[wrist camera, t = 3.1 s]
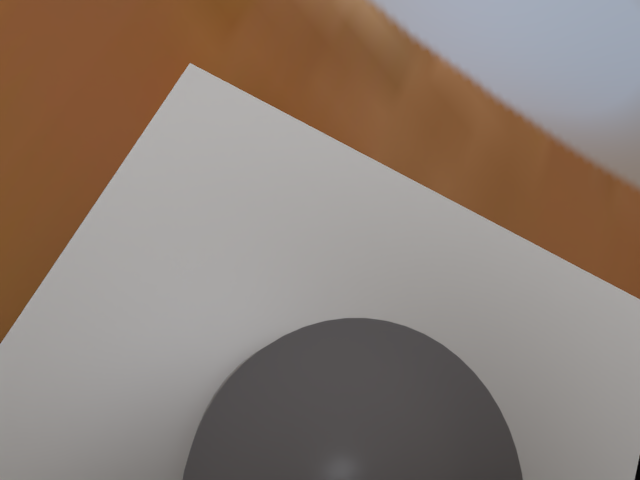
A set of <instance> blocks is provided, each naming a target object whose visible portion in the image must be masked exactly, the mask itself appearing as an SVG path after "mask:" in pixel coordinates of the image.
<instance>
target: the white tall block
mask: <svg viewBox="0 0 640 480" xmlns="http://www.w3.org/2000/svg"><path fill="white" fill-rule="evenodd" d="M639 456H640V299H638V298H636V297H634V296H632V295H630V294H628V293H626V292H624V291H623V290H621V289H619V288H617V287H615V286H613V285H611V284H609V283H607V282H605V281H604V280H602V279H600V278H598V277H596V276H594V275H592V274H590V273H588V272H586V271H585V270H583V269H581V268H579V267H577V266H575V265H573V264H571V263H569V262H567V261H565V260H564V259H562V258H560V257H558V256H556V255H554V254H552V253H550V252H548V251H546V250H545V249H543V248H541V247H539V246H537V245H535V244H533V243H531V242H529V241H527V240H526V239H524V238H522V237H520V236H518V235H516V234H514V233H512V232H510V231H508V230H507V229H505V228H503V227H501V226H499V225H497V224H495V223H493V222H491V221H489V220H488V219H486V218H484V217H482V216H480V215H478V214H476V213H474V212H472V211H470V210H468V209H467V208H465V207H463V206H461V205H459V204H457V203H455V202H453V201H451V200H449V199H448V198H446V197H444V196H442V195H440V194H438V193H436V192H434V191H432V190H430V189H429V188H427V187H425V186H423V185H421V184H419V183H417V182H415V181H413V180H411V179H410V178H408V177H406V176H404V175H402V174H400V173H398V172H396V171H394V170H392V169H391V168H389V167H387V166H385V165H383V164H381V163H379V162H377V161H375V160H373V159H371V158H370V157H368V156H366V155H364V154H362V153H360V152H358V151H356V150H354V149H352V148H351V147H349V146H347V145H345V144H343V143H341V142H339V141H337V140H335V139H333V138H332V137H330V136H328V135H326V134H324V133H322V132H320V131H318V130H316V129H314V128H313V127H311V126H309V125H307V124H305V123H303V122H301V121H299V120H297V119H295V118H294V117H292V116H290V115H288V114H286V113H284V112H282V111H280V110H278V109H276V108H274V107H273V106H271V105H269V104H267V103H265V102H263V101H261V100H259V99H257V98H255V97H254V96H252V95H250V94H248V93H246V92H244V91H242V90H240V89H238V88H236V87H235V86H233V85H231V84H229V83H227V82H225V81H223V80H221V79H219V78H217V77H216V76H214V75H212V74H210V73H208V72H206V71H204V70H202V69H200V68H198V67H197V66H195V65H193V64H191V63H190V64H189V65H188V67H187V68H186V70H185V71H184V73H183V74H182V76H181V77H180V79H179V80H178V82H177V83H176V84H175V86H174V87H173V89H172V90H171V92H170V93H169V95H168V96H167V98H166V99H165V101H164V102H163V104H162V105H161V107H160V108H159V110H158V111H157V113H156V114H155V116H154V117H153V119H152V120H151V122H150V123H149V125H148V126H147V127H146V129H145V130H144V132H143V133H142V135H141V136H140V138H139V139H138V141H137V142H136V144H135V145H134V147H133V148H132V150H131V151H130V153H129V154H128V156H127V157H126V159H125V160H124V162H123V163H122V165H121V166H120V168H119V169H118V170H117V172H116V173H115V175H114V176H113V178H112V179H111V181H110V182H109V184H108V185H107V187H106V188H105V190H104V191H103V193H102V194H101V196H100V197H99V199H98V200H97V202H96V203H95V205H94V206H93V208H92V209H91V210H90V212H89V213H88V215H87V216H86V218H85V219H84V221H83V222H82V224H81V225H80V227H79V228H78V230H77V231H76V233H75V234H74V236H73V237H72V239H71V240H70V242H69V243H68V245H67V246H66V248H65V249H64V251H63V252H62V253H61V255H60V256H59V258H58V259H57V261H56V262H55V264H54V265H53V267H52V268H51V270H50V271H49V273H48V274H47V276H46V277H45V279H44V280H43V282H42V283H41V285H40V286H39V288H38V289H37V291H36V292H35V294H34V295H33V296H32V298H31V299H30V301H29V302H28V304H27V305H26V307H25V308H24V310H23V311H22V313H21V314H20V316H19V317H18V319H17V320H16V322H15V323H14V325H13V326H12V328H11V329H10V331H9V332H8V334H7V335H6V336H5V338H4V339H3V341H2V342H1V344H0V480H635V476H636V471H637V466H638V461H639Z"/></svg>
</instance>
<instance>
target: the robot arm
mask: <svg viewBox="0 0 640 480" xmlns="http://www.w3.org/2000/svg"><path fill="white" fill-rule="evenodd" d="M635 480H640V456H639V461H638V466H637V471H636V476H635Z"/></svg>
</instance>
